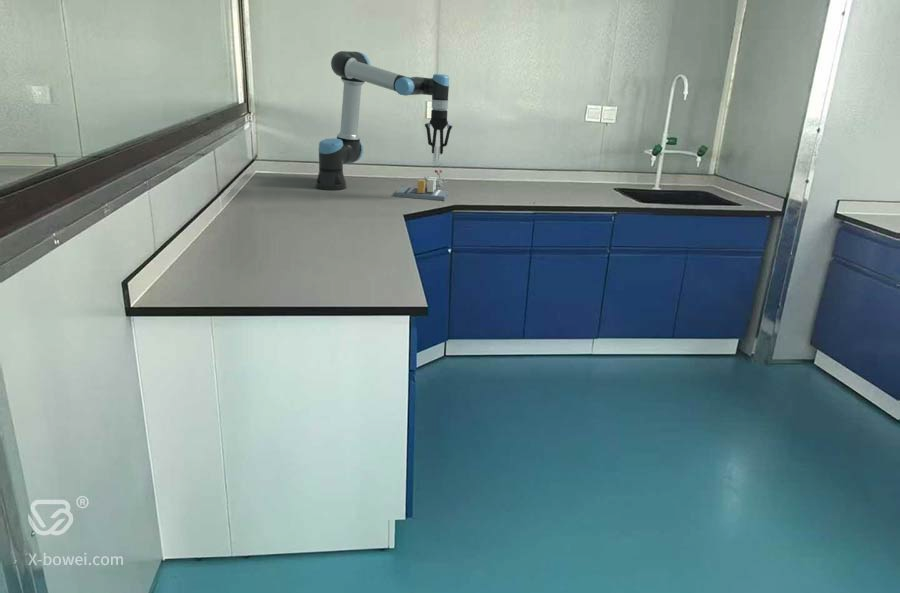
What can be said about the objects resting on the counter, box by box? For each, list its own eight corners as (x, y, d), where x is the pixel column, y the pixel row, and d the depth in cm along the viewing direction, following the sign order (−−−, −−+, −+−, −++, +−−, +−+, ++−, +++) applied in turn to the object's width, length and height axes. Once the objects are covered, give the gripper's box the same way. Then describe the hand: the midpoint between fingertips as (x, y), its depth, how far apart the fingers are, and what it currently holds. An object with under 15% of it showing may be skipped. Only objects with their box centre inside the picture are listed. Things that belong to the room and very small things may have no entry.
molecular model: (436, 194, 320) (436, 174, 316) (419, 192, 324) (418, 173, 320) (453, 186, 336) (453, 168, 332) (436, 185, 340) (436, 166, 336)
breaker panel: (395, 196, 307) (396, 179, 304) (401, 190, 320) (402, 174, 317) (444, 200, 305) (445, 183, 302) (448, 194, 318) (449, 178, 315)
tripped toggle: (417, 192, 307) (418, 180, 304) (418, 191, 309) (419, 179, 307) (423, 193, 306) (424, 181, 304) (424, 192, 309) (425, 179, 307)
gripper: (422, 108, 290) (420, 160, 299) (453, 111, 289) (450, 163, 297) (425, 107, 297) (423, 158, 306) (455, 110, 296) (452, 160, 304)
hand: (436, 160), depth 301 cm, fingers closed
